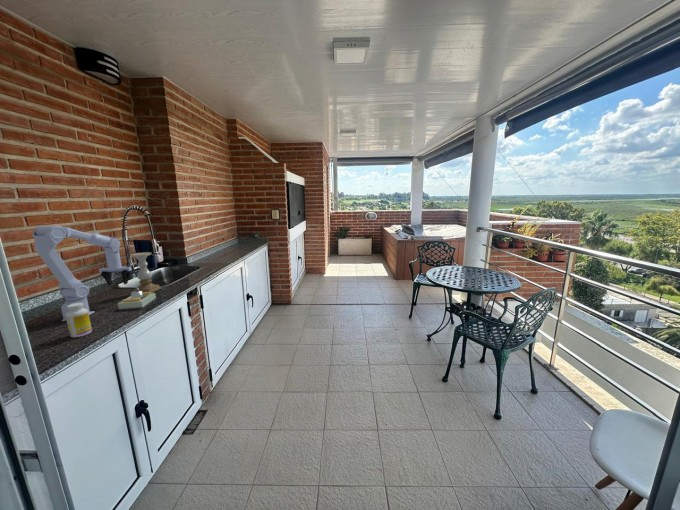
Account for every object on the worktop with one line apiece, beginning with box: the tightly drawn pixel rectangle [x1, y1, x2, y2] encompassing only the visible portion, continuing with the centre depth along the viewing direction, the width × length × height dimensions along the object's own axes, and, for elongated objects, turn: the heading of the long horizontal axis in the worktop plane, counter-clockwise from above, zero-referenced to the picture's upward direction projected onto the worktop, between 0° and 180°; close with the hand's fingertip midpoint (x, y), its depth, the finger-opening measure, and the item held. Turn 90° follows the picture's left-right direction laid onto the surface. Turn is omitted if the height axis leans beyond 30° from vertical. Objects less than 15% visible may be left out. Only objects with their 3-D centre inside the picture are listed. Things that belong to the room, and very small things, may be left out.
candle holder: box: [130, 251, 162, 293], centre depth 163 cm, size 11×11×24 cm
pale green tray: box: [117, 292, 157, 311], centre depth 145 cm, size 14×11×5 cm
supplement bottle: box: [66, 303, 93, 338], centre depth 111 cm, size 7×7×13 cm
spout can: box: [130, 287, 144, 300], centre depth 145 cm, size 5×5×8 cm
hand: (118, 284), depth 148 cm, fingers open, 7 cm apart
